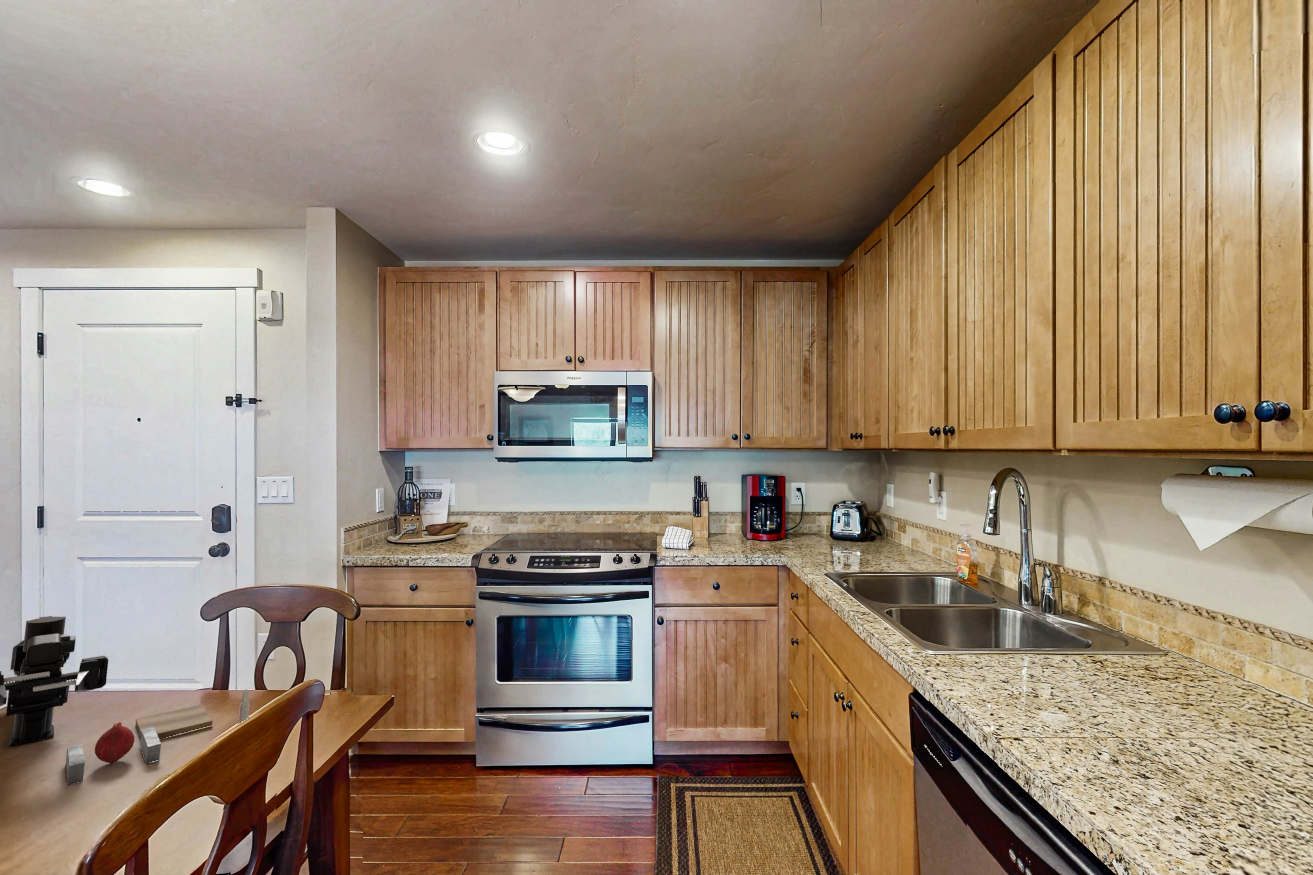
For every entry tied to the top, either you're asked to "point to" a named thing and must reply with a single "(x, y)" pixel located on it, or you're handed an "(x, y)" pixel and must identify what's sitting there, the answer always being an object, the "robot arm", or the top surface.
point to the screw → (244, 706)
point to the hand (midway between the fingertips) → (42, 694)
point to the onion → (114, 743)
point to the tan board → (175, 721)
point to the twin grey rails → (76, 760)
